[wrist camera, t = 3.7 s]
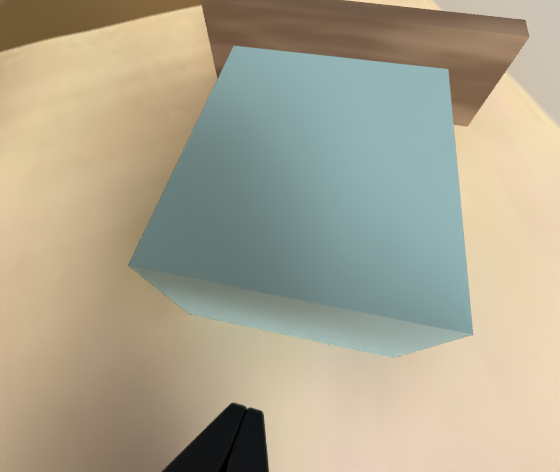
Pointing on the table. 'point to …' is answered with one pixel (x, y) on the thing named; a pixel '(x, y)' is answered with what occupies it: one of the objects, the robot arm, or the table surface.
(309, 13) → the board
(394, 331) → the block
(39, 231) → the table surface
